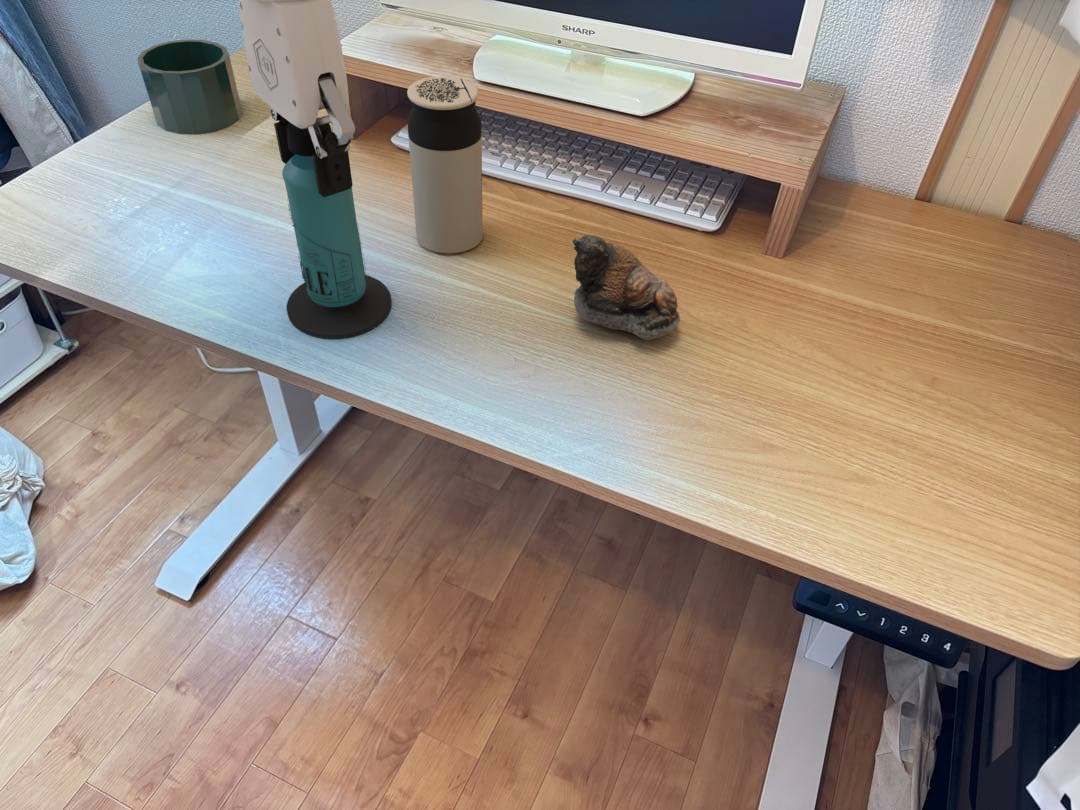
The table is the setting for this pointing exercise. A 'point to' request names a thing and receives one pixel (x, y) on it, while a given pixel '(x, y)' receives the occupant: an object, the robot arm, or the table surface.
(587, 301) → the bison figurine
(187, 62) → the pot
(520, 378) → the table surface
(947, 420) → the table surface
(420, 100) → the travel mug
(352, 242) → the beverage bottle
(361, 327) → the coaster
